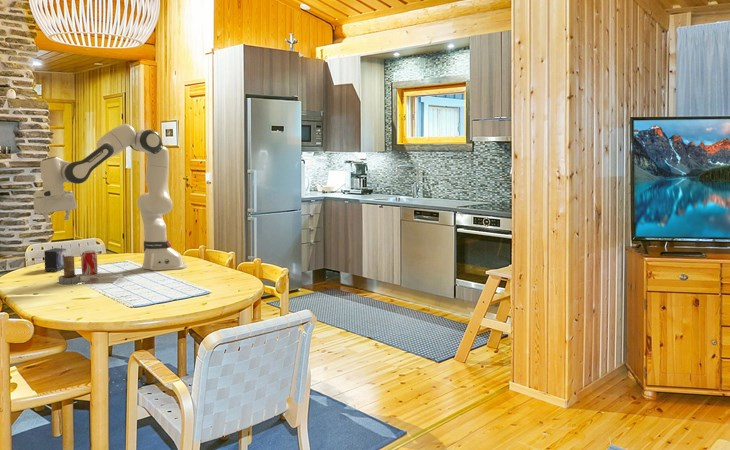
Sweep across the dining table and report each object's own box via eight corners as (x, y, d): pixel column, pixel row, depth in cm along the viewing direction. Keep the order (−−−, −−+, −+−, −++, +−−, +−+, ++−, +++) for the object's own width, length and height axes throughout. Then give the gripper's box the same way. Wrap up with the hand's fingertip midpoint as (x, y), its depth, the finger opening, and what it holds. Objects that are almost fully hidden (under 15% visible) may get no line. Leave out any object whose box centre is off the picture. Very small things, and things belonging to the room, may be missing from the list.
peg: (76, 281, 289) (75, 255, 288) (73, 283, 285) (72, 257, 284) (65, 281, 288) (64, 256, 287) (63, 283, 284) (62, 257, 283)
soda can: (91, 277, 304) (90, 252, 302) (78, 276, 305) (77, 252, 304) (100, 274, 311) (99, 250, 309) (87, 273, 312) (86, 249, 311)
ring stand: (87, 281, 294) (86, 273, 293) (80, 287, 282) (80, 278, 282) (59, 282, 291) (58, 274, 291) (51, 288, 280) (51, 279, 279)
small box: (57, 271, 316) (56, 251, 315) (44, 271, 316) (43, 251, 315) (67, 268, 327) (66, 248, 326) (55, 267, 327) (54, 247, 326)
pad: (117, 279, 299) (117, 277, 299) (112, 285, 288) (112, 282, 287) (90, 280, 297) (90, 277, 297) (84, 285, 285) (84, 283, 285)
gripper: (68, 190, 304) (72, 218, 305) (29, 194, 286) (33, 224, 287) (77, 189, 301) (81, 218, 303) (38, 193, 283) (43, 224, 285)
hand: (58, 221), depth 295 cm, fingers open, 8 cm apart
